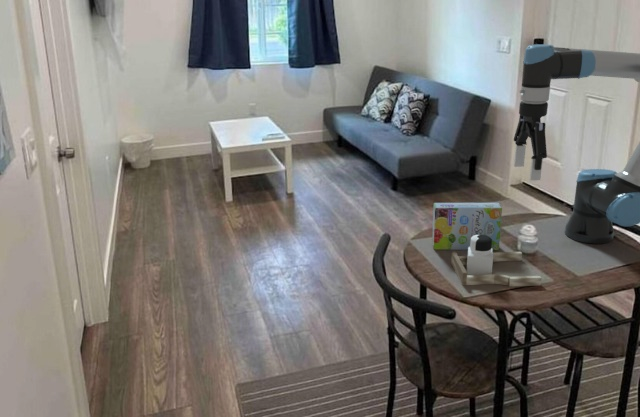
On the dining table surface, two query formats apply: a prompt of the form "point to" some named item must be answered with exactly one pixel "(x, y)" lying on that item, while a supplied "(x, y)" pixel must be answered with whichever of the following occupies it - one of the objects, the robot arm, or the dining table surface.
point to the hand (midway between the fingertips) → (526, 173)
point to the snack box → (465, 224)
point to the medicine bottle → (480, 256)
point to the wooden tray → (495, 278)
